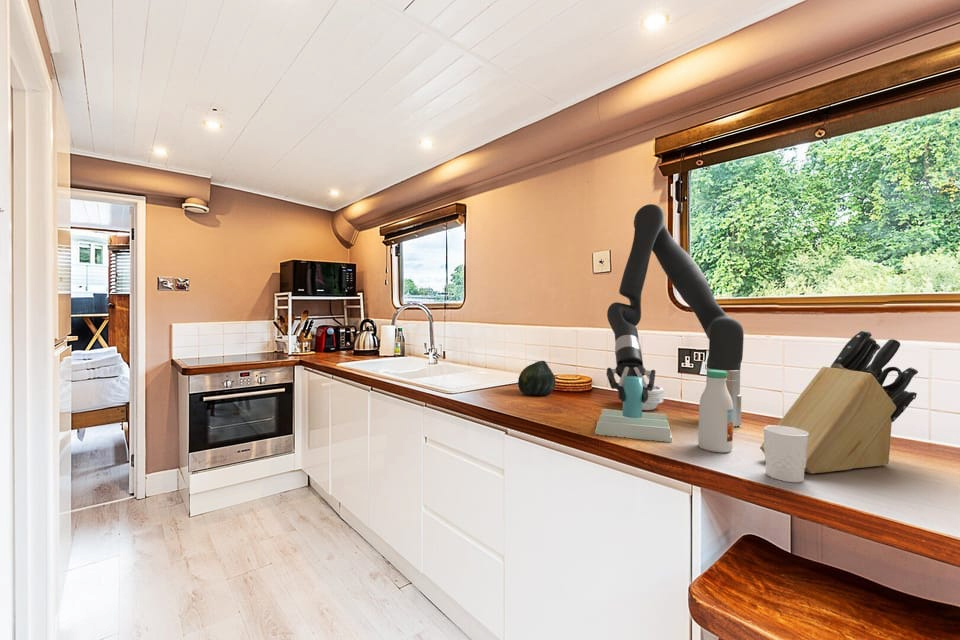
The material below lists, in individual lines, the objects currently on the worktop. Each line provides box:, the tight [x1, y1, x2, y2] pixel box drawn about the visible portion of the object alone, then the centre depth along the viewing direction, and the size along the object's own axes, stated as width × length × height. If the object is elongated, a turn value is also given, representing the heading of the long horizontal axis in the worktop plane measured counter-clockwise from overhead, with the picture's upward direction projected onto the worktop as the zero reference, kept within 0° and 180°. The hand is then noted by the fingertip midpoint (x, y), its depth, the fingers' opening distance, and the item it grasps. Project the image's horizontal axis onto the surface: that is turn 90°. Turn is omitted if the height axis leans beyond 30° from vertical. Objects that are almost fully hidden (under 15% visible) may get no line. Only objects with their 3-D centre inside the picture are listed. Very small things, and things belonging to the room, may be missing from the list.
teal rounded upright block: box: [622, 376, 644, 418], centre depth 125 cm, size 5×5×11 cm
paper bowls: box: [642, 384, 664, 411], centre depth 160 cm, size 15×15×8 cm
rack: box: [594, 408, 673, 443], centre depth 129 cm, size 20×17×4 cm
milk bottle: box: [697, 369, 734, 454], centre depth 113 cm, size 8×8×20 cm
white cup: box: [763, 424, 809, 483], centre depth 94 cm, size 8×8×10 cm
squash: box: [517, 360, 556, 397], centre depth 181 cm, size 14×15×15 cm
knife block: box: [759, 329, 919, 475], centre depth 104 cm, size 11×35×31 cm, turn 105°
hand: (633, 400), depth 124 cm, fingers closed on teal rounded upright block, 5 cm apart
